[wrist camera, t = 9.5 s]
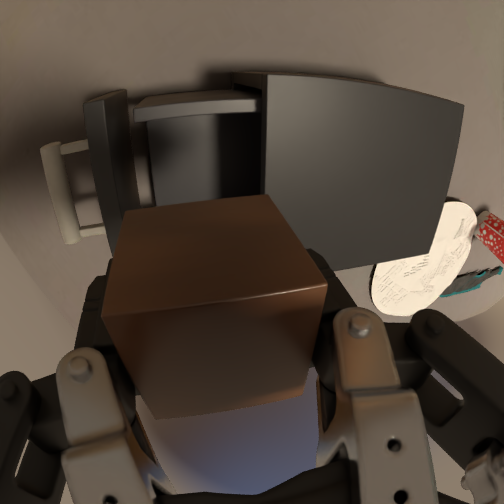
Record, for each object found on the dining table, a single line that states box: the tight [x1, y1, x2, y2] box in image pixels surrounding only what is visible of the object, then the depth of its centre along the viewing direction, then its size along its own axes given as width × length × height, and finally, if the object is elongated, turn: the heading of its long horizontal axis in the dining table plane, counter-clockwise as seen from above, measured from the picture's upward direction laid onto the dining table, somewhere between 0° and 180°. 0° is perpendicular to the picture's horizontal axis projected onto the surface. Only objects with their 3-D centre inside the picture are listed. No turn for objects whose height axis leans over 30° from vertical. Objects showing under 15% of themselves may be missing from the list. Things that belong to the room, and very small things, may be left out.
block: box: [101, 194, 328, 420], centre depth 8 cm, size 4×4×4 cm
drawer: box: [40, 89, 262, 257], centre depth 20 cm, size 18×12×8 cm, turn 90°
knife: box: [439, 266, 503, 297], centre depth 46 cm, size 24×1×5 cm
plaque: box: [371, 202, 477, 316], centre depth 38 cm, size 20×20×2 cm
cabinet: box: [232, 72, 464, 271], centre depth 22 cm, size 15×13×10 cm
